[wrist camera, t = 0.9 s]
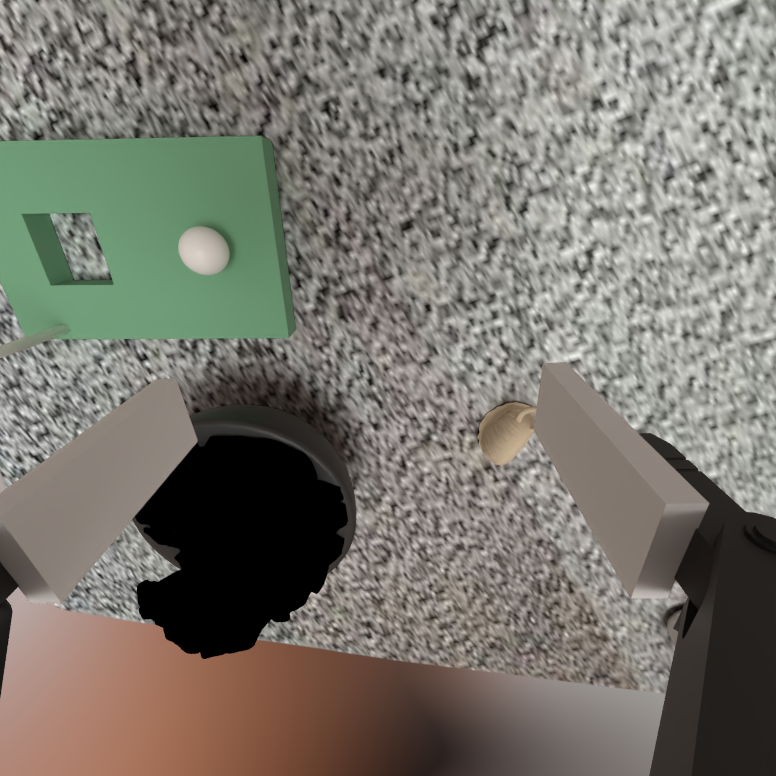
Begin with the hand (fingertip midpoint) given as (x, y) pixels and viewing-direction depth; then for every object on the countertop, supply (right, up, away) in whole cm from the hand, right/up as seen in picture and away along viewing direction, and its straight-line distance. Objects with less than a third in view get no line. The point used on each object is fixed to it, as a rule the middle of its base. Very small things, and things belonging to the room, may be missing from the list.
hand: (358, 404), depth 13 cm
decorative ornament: (+13, -3, +26) cm, 29 cm away
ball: (-13, +11, +15) cm, 22 cm away
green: (-20, +13, +19) cm, 30 cm away
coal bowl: (-12, -6, +28) cm, 31 cm away
